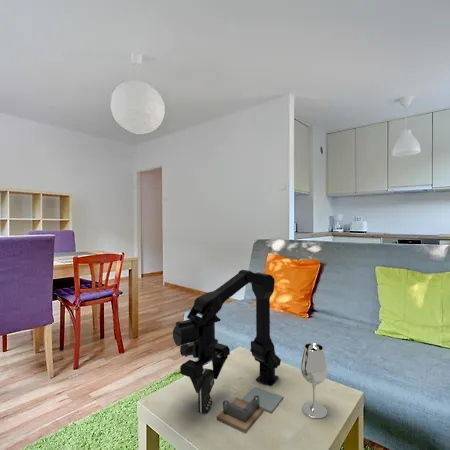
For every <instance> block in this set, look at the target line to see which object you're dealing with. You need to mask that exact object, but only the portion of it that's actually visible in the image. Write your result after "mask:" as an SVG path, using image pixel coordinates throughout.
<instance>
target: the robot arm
mask: <svg viewBox="0 0 450 450" xmlns="http://www.w3.org/2000/svg"><path fill="white" fill-rule="evenodd" d="M248 284H251V290H252V292H253V295H254V296H255V313H256V314H255V320H256V321H255V323H256V324H255V325H256V329H255V330H256V333H255V334H256V335H255V337H254V339H253V340H251V341H250V350H249V351H250V353H251V356H252V357H253V358H254V360H255V361H256V362H258V363H259V376H257V377H256V379H255V380H256V381H257V382H260V383H261V384H266V385H268V386H271V387H272V386H273V385H274V384H275V383H276V382H277V381H278V380H279V376H278V375H276V369H278V367H280V365H281V361H282V360H281V358H280V357H279V356H278V355H276V352H275V351H276V350H275V345H274V343H273V340H272V338H271V316H270V315H271V313H270V311H271V309H270V307H271V306H270V305H271V303H270V302H271V301H270V300H271V299H270V298H271V297H272V295H273V293H274V292H275V291H274V290H275V284H276V282H275V277H274V276H273V275H271V274H267V273H262V272H252V270H247V269H241V270H239V272H237V274H235V275H234V276H233V277H231V278H230V279H229V280H227V281H226V282H224V283H223V284H221V286H219V287H218V288H216V289H215V290H213V291H209V292H206V293H203V294H202V295H199V296H198V297H196V298H195V299H194V301H193V302H194V303H193V306H192V307H191V309H190V311H189V312H188V315H187V316H186V318H187V319H186V320H180V321H176V322H175V326H174V327H173V329H172V330H173V331H172V338H173V339H172V340H173V343H174V344H175V345H176V346H177V347H179V346H180V347H179V352H180V355H181V356H182V357H188V356H192V358H194V359H197V360H196V361H195V360H193V359H188V360H187V361H185V362H183V363H182V364H181V365H180V366H179V371H180V374H179V375H183V376H186V377H188V378H189V379H190V381H191V382H192V383H191V384H192V386H193V388H194V391H195V393H196V394H198V393H200V389H201V385H202V380H203V376H204V374H202V373H203V369H204V366H205V365H206V364H208V363H209V362H211V363H212V364H211V365H212V370H213V372H214V380H218V378H219V376H220V374H221V371H222V369H223V367H224V365H225V362H226V361H227V360H228V356H229V355H231V349H230V347H229V346H228V345H227V344H222V343H219V339H217V338H216V323H219V322H220V321H222V319H221V318H220V317H219V316H218V315H217V314H218V313H219V312H220V311H221V310H222V307H223V305H224V303H225V302H226V301H227V300H229V299H230V298H232V297H233V296H234V295H235V294H236V293H238V292H239V291H241V290H242V289H243V288H244V287H245V286H247V285H248ZM200 316H201V317H200Z"/></svg>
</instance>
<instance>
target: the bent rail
mask: <svg viewBox="0 0 450 450" xmlns="http://www.w3.org/2000/svg"><path fill="white" fill-rule="evenodd" d="M259 408H260V406H259V396H254V399H253V400H252V401H251V402H250V403H249V404H248V405H247V406H246V407H245V408H244V409H243V408H241V407H239V406H236V405H234V404H231V402H230V401H229V400H227V399H225V400H223V401H222V409H223V410H222V411H223V413H224V414H227V415H229V416H232V417H234V418H236V419H238V420H241V421H243V422H245V423H246V422H247V421H248V419H249V418H250V417H251V416H252V415H253V414H254V412H255V411H256V410H257V409H259Z"/></svg>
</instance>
